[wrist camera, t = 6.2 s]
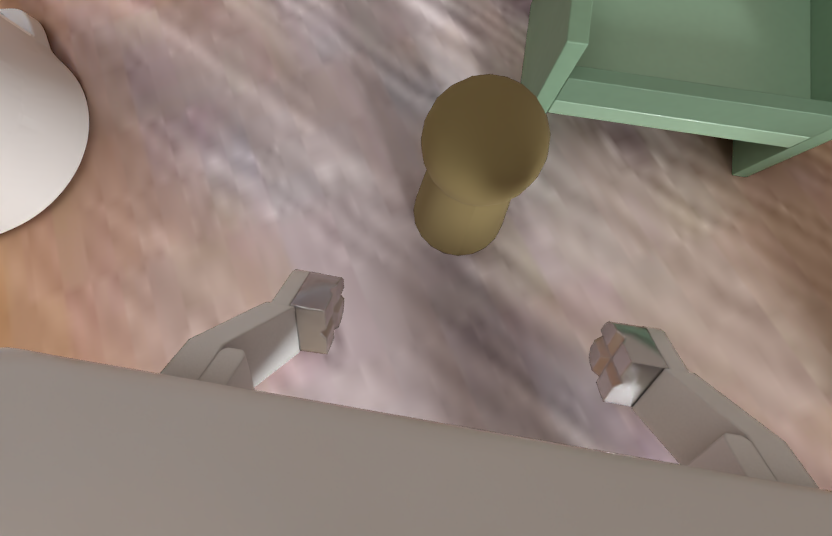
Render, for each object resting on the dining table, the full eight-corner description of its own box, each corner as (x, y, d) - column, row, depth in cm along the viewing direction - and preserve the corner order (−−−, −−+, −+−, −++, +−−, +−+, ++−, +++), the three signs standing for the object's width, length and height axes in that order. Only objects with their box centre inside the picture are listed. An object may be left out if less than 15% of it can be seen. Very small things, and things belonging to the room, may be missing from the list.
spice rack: (512, 142, 25) (566, 41, 16) (530, 4, 26) (588, -158, 17) (746, 177, 24) (937, 93, 15) (749, 35, 26) (924, -115, 17)
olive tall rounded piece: (430, 157, 25) (441, 26, 14) (514, 185, 24) (594, 73, 13) (400, 238, 24) (386, 166, 13) (487, 268, 23) (548, 221, 12)
